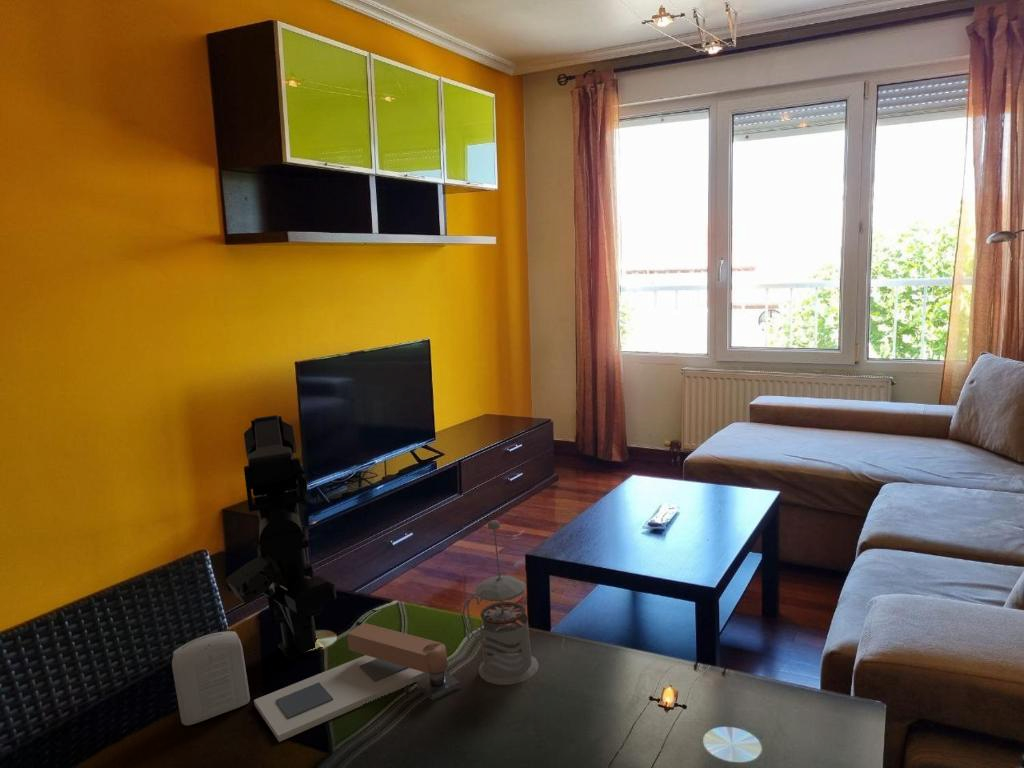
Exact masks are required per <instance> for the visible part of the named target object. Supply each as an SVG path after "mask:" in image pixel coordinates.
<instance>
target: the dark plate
mask: <svg viewBox="0 0 1024 768" xmlns="http://www.w3.org/2000/svg"><path fill="white" fill-rule="evenodd" d="M415 683H416V688H417V689H419V691H421V693H423V694H424V695H425V696H427V698H429V700H431V701H432V702H433V701H435V700H437V699H439V698H441V697H443V696H446V695H448V694H450V693H452V692H455V691H457V690H459V689H460V688H461V682H460V681H459V679H457V678H456V677H454V676H453V675H451V674H450V673H449V672H448V671H447V670H446V669H445V670H444V671H442V672H439V673H429V676H427V677H425V678H423V679H421V680H418V681H416V682H415Z"/></svg>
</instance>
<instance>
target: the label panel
mask: <svg viewBox="0 0 1024 768" xmlns="http://www.w3.org/2000/svg"><path fill="white" fill-rule="evenodd" d="M427 676H429V673H425V672H422V671H418V670H415V669H411V668H408V667H405V666H401V665H398V664H394V663H391V662H388V661H384V660H381V659H377V658H374V657H370V656H367V655H363V656H359V657H357V658H356V659H353V660H350V661H347V662H345V663H341V664H340V665H338V666H335V667H332V668H330V669H328V670H325V671H323V672H321V673H317V674H315V675H312V676H310V677H308V678H306V679H305V678H304V679H303V680H300V681H298V682H295V683H292V684H290V685H287V686H285V687H283V688H280V689H278V690H275V691H273V692H271V693H268V694H266V695H263V696H261V697H257V698H256V699H254V700H253V703H254V706H255V709H256V710H257V711H258V713H259V714H260V715H261V717H262V719H263V720H264V722H265V724H267V727H269V729H270V730H271V732H272V734H273V735H274V737H275V738H276V740H277V742H279V743H280V742H282V741H284V740H287V739H289V738H291V737H294V736H296V735H298V734H300V733H303V732H306V731H307V730H309V729H312V728H314V727H316V726H319V725H321V724H323V723H326V722H328V721H330V720H332V719H335V718H337V717H340V716H341V715H344V714H346V713H349V712H351V711H353V710H355V709H357V708H359V707H362V706H364V705H363V704H365V703H367V704H369V703H371V702H373V700H374V701H376V700H378V699H380V698H382V697H381V696H383V697H385V696H387V695H389V693H390V694H392V693H394V692H396V691H398V690H401V689H403V688H405V687H408V686H410V685H412V684H414V683H416V681H418V680H421V679H423V678H425V677H427ZM407 685H408V686H407ZM384 695H385V696H384ZM379 697H380V698H379ZM377 698H378V699H377ZM375 699H376V700H375ZM370 701H371V702H370ZM368 702H369V703H368ZM365 705H366V704H365Z"/></svg>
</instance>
